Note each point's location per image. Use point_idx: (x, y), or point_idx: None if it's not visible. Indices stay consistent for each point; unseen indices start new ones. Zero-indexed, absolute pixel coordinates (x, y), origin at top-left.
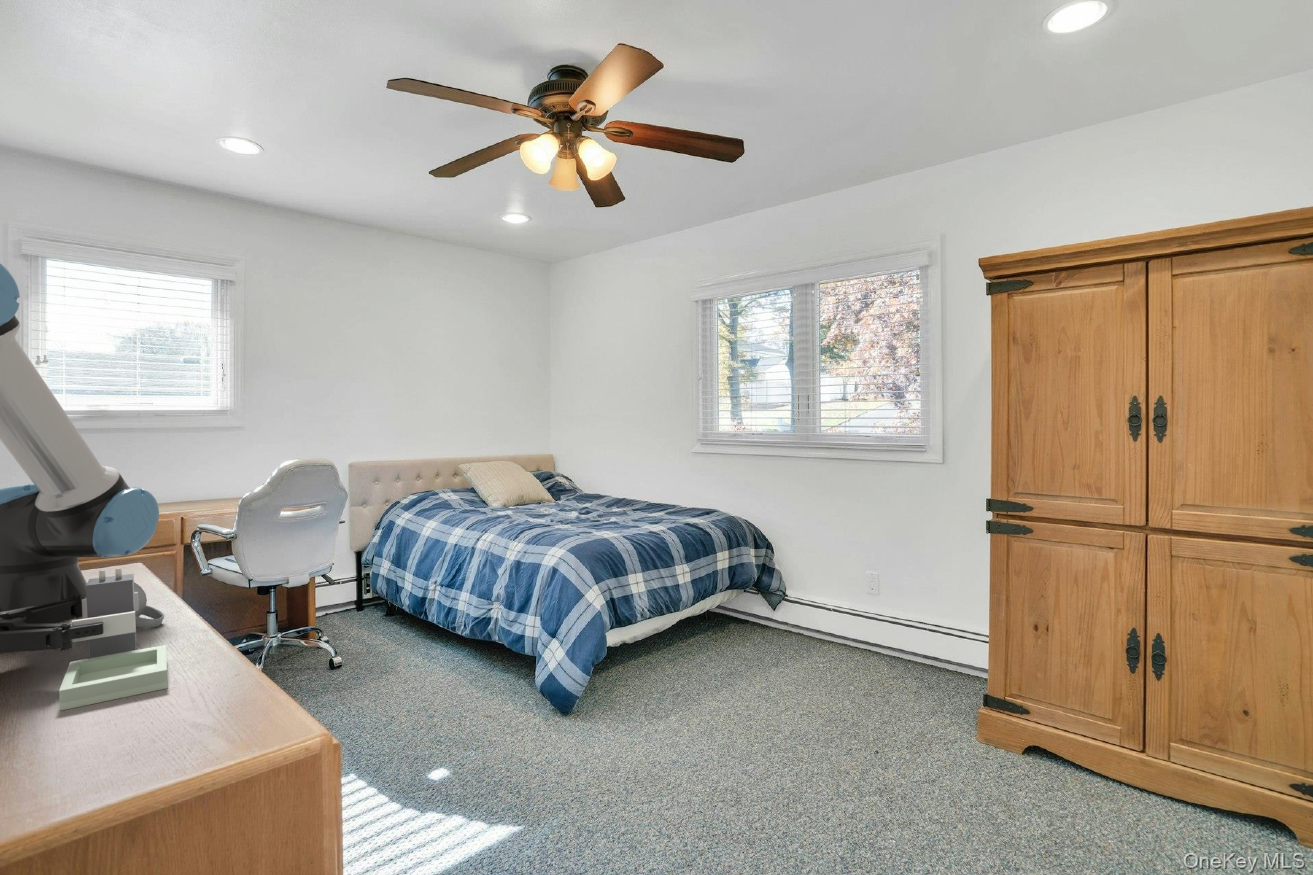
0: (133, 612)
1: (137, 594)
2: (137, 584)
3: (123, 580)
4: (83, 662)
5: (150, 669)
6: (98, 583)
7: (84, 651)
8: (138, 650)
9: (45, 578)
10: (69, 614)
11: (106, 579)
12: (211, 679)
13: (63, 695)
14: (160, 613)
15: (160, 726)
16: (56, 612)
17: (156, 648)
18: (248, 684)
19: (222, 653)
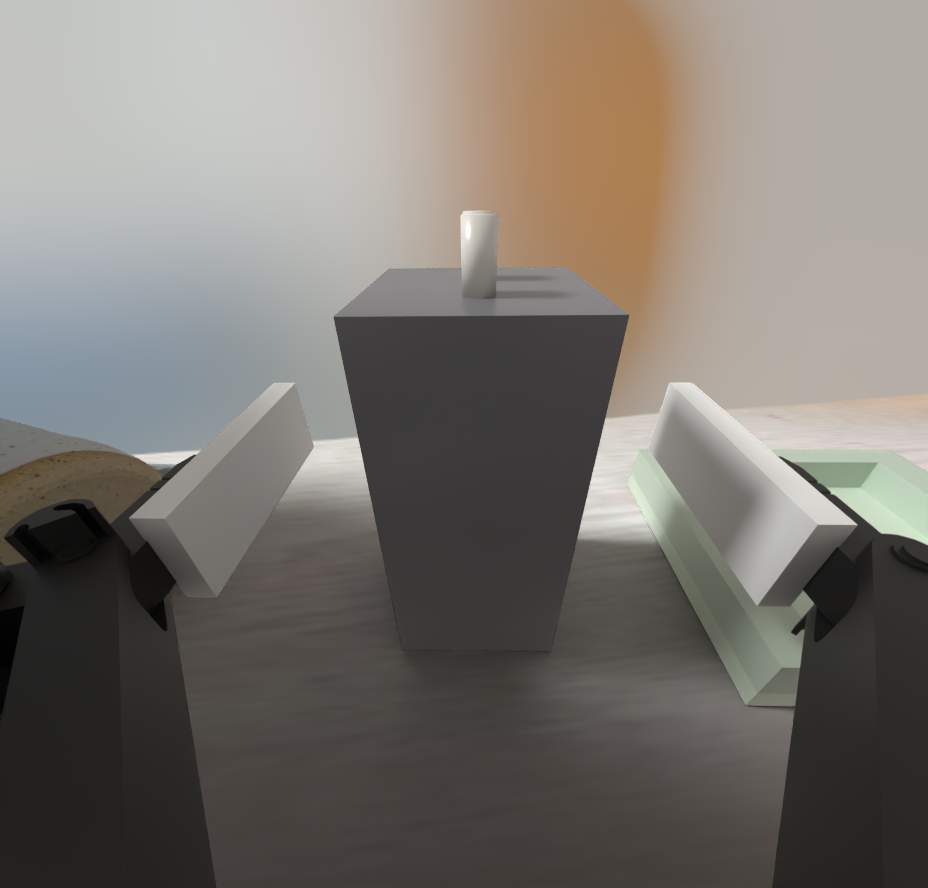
0: (693, 385)
1: (295, 390)
2: None
3: (563, 274)
4: (798, 617)
5: (891, 471)
6: (583, 298)
7: (304, 683)
8: (674, 490)
9: None
10: (159, 636)
11: (460, 291)
12: (799, 439)
13: None
14: (162, 468)
15: None
16: (149, 692)
17: None
18: (836, 411)
19: (613, 423)
